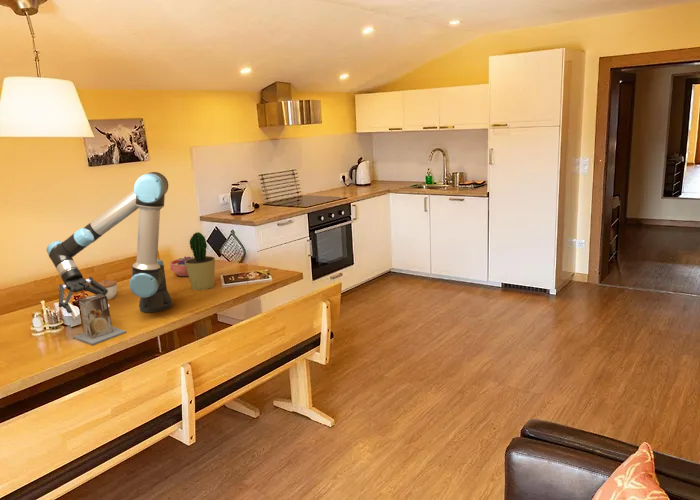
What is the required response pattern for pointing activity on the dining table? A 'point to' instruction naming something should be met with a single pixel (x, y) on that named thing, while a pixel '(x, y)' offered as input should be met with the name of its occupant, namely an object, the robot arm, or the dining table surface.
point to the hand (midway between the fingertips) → (92, 313)
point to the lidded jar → (110, 288)
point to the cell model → (179, 266)
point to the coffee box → (95, 315)
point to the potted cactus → (200, 264)
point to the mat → (99, 339)
